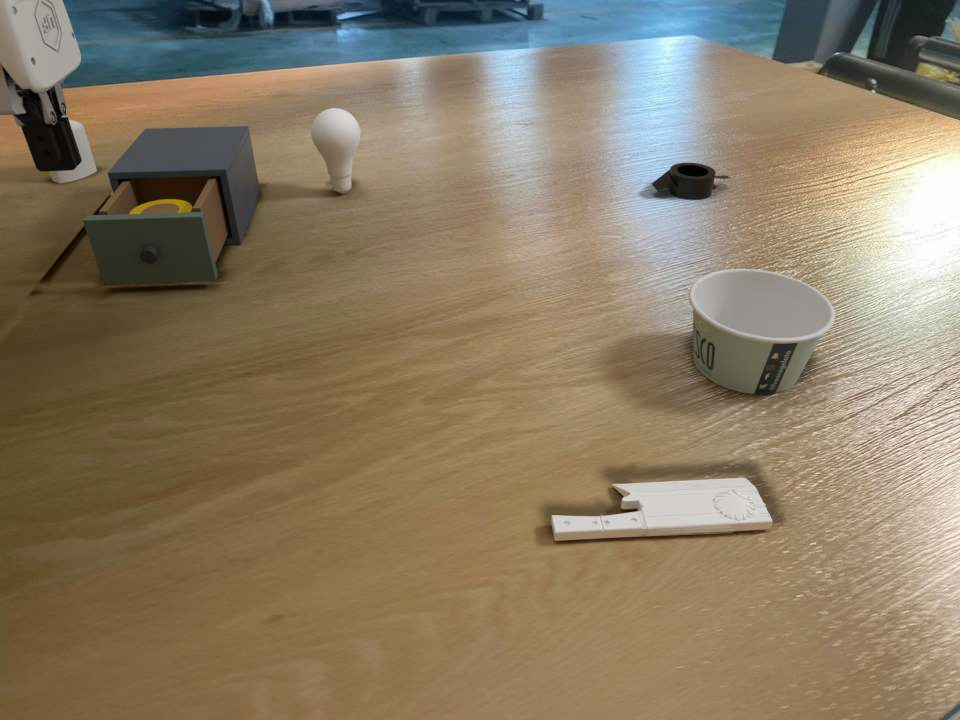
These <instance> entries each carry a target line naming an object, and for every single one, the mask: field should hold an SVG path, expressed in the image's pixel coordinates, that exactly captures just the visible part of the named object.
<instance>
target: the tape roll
mask: <svg viewBox="0 0 960 720" xmlns="http://www.w3.org/2000/svg"><path fill="white" fill-rule="evenodd" d="M179 212H193V207H192V205H191V204H190V203H188V202H186V201H183V200H177V199H163V200H156V201H151V202H147V203H144V204H142V205H139V206H137V207H135V208H134V209H133V210H131V211H130V213H129V214H148V213H179Z"/></svg>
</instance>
